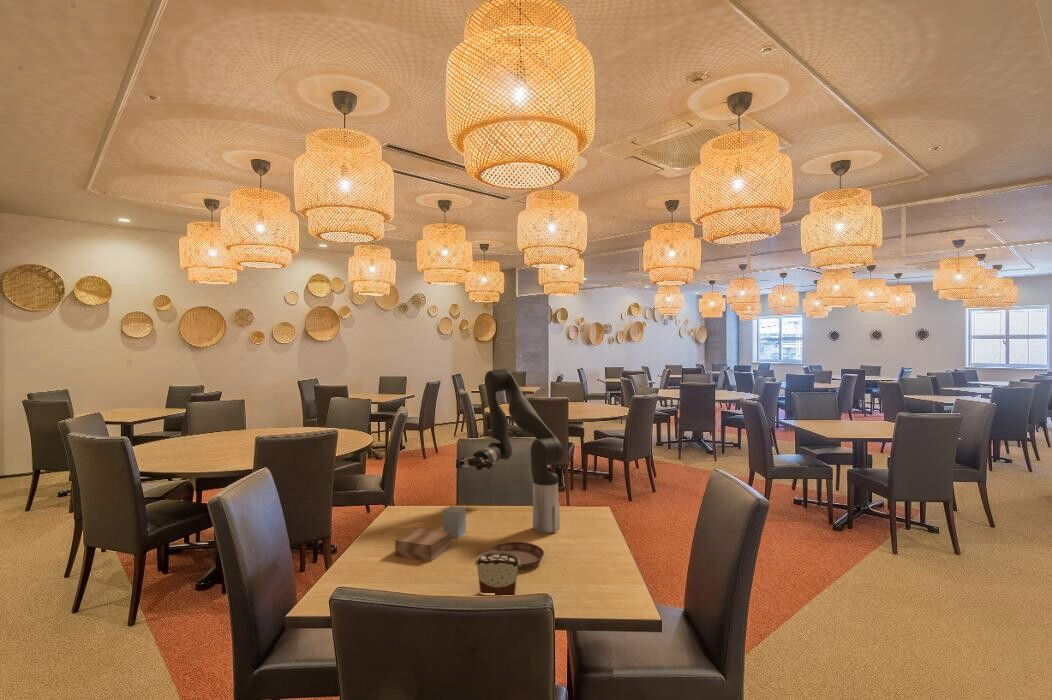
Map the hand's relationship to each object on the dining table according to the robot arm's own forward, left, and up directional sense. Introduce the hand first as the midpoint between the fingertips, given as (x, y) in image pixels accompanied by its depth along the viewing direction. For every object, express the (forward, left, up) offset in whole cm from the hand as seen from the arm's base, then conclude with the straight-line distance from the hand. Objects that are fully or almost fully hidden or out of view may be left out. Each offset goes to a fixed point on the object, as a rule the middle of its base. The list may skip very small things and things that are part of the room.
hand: (467, 466), depth 201 cm
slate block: (0, +10, -22) cm, 24 cm away
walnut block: (+2, +28, -22) cm, 36 cm away
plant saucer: (-29, +25, -22) cm, 45 cm away
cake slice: (-32, +46, -22) cm, 61 cm away
